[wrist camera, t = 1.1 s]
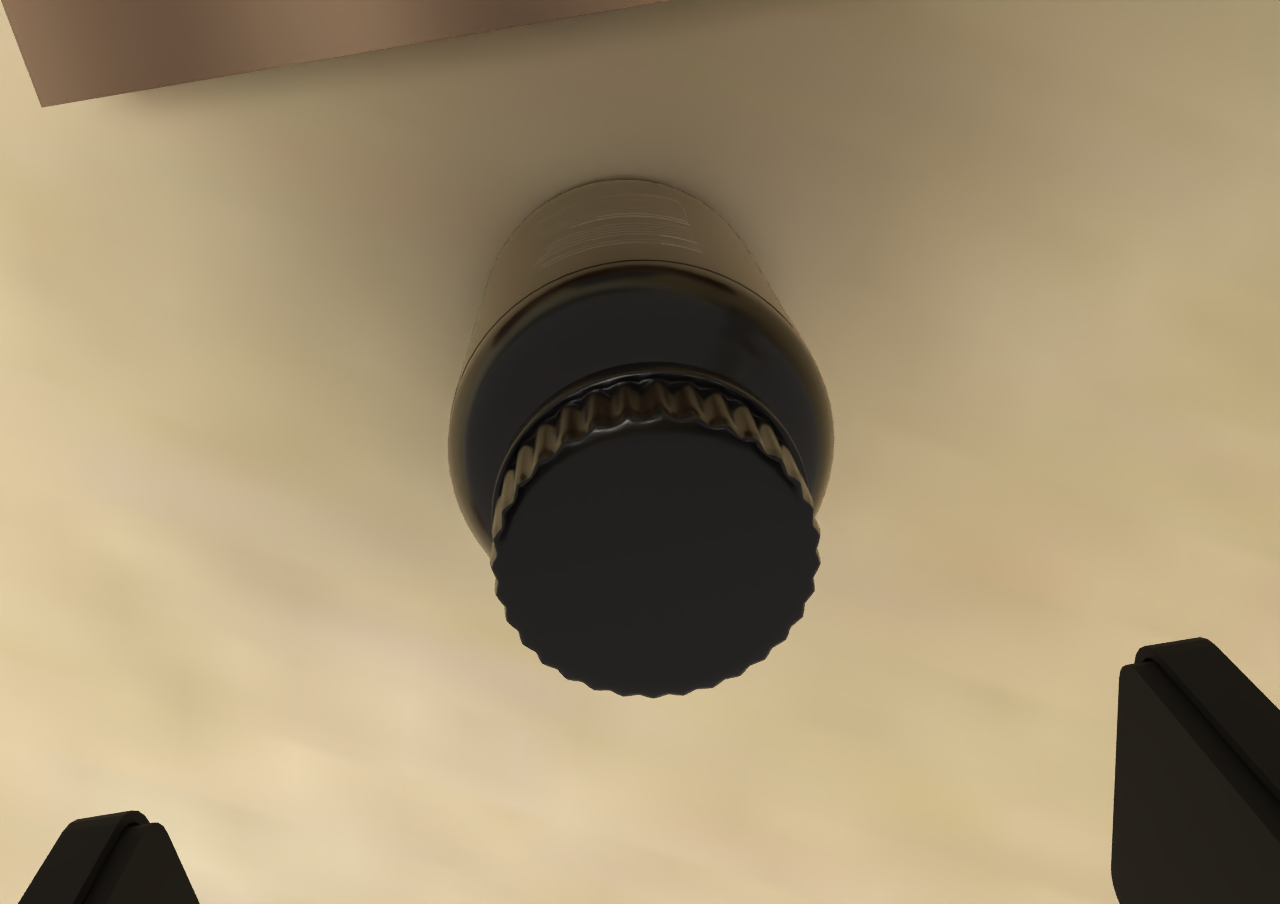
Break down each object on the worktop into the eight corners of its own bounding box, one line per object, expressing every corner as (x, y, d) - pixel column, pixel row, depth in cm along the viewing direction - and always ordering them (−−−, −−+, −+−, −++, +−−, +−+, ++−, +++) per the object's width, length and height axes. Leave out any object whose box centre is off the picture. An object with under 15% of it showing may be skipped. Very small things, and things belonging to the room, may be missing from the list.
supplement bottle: (443, 377, 26) (337, 661, 15) (555, 123, 24) (528, 240, 13) (685, 481, 27) (748, 808, 16) (813, 252, 25) (988, 457, 14)
